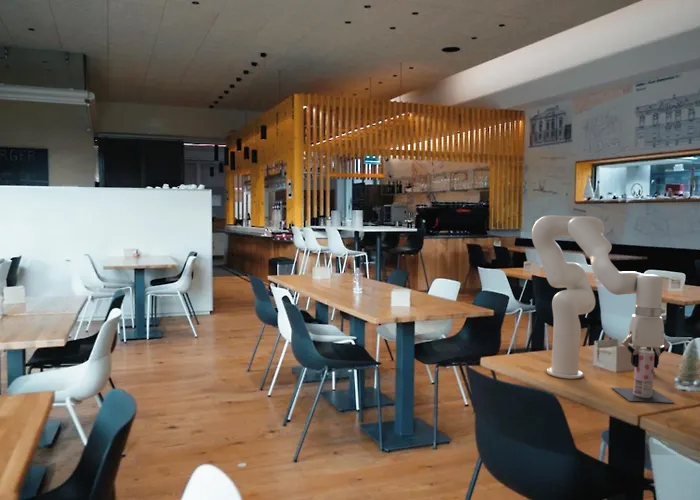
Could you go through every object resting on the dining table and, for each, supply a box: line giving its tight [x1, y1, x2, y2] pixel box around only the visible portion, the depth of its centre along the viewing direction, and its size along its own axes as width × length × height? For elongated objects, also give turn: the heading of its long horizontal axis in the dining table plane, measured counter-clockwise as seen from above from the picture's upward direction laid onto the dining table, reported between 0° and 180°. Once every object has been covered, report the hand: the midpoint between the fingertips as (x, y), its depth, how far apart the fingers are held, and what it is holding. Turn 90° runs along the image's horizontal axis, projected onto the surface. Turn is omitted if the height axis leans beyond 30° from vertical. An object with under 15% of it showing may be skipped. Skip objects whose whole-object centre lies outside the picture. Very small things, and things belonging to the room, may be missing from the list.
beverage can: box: [632, 348, 655, 398], centre depth 196 cm, size 6×6×15 cm
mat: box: [611, 387, 675, 404], centre depth 197 cm, size 14×14×1 cm
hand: (644, 365), depth 196 cm, fingers closed on beverage can, 5 cm apart
